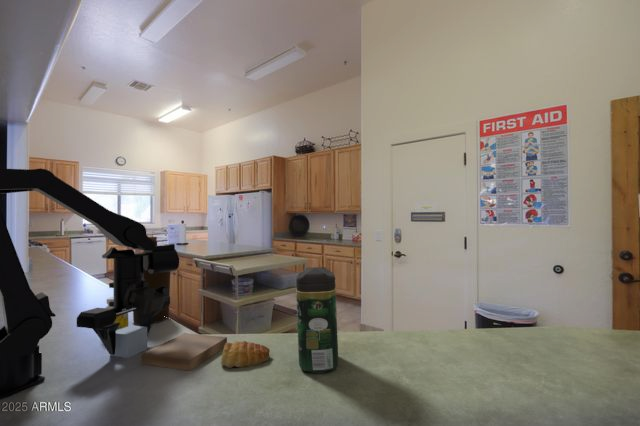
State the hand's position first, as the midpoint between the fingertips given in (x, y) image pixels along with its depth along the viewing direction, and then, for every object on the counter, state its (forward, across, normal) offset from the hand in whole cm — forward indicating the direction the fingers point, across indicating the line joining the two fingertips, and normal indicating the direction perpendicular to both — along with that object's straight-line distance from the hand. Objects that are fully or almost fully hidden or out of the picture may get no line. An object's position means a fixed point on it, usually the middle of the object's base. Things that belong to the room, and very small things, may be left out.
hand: (129, 346), depth 68 cm
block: (+1, 0, 0) cm, 1 cm away
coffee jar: (+1, +5, -43) cm, 43 cm away
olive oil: (+1, +20, +15) cm, 25 cm away
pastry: (+2, +3, -28) cm, 28 cm away
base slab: (+1, +2, -14) cm, 14 cm away
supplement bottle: (+1, +8, +14) cm, 16 cm away
